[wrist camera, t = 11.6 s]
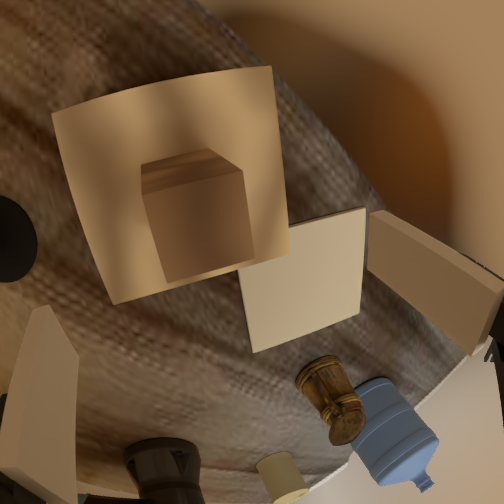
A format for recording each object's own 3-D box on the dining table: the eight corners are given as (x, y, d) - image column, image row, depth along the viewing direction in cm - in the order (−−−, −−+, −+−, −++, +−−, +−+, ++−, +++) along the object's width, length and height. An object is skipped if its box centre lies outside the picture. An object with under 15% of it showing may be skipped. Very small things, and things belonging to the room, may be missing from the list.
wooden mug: (317, 335, 49) (381, 419, 34) (346, 367, 56) (399, 436, 41) (273, 369, 49) (324, 459, 34) (309, 395, 56) (355, 468, 41)
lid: (113, 297, 26) (112, 374, 18) (55, 113, 18) (8, 121, 10) (285, 248, 30) (338, 304, 22) (265, 67, 22) (329, 54, 14)
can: (282, 466, 70) (300, 501, 60) (251, 471, 66) (267, 510, 56) (296, 448, 67) (317, 486, 57) (263, 454, 63) (282, 496, 53)
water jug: (325, 406, 61) (393, 509, 37) (385, 364, 62) (464, 456, 38) (340, 428, 69) (396, 512, 46) (391, 392, 70) (454, 469, 46)
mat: (251, 350, 45) (253, 353, 45) (232, 240, 36) (233, 243, 36) (356, 311, 49) (358, 313, 49) (363, 206, 41) (365, 207, 40)
